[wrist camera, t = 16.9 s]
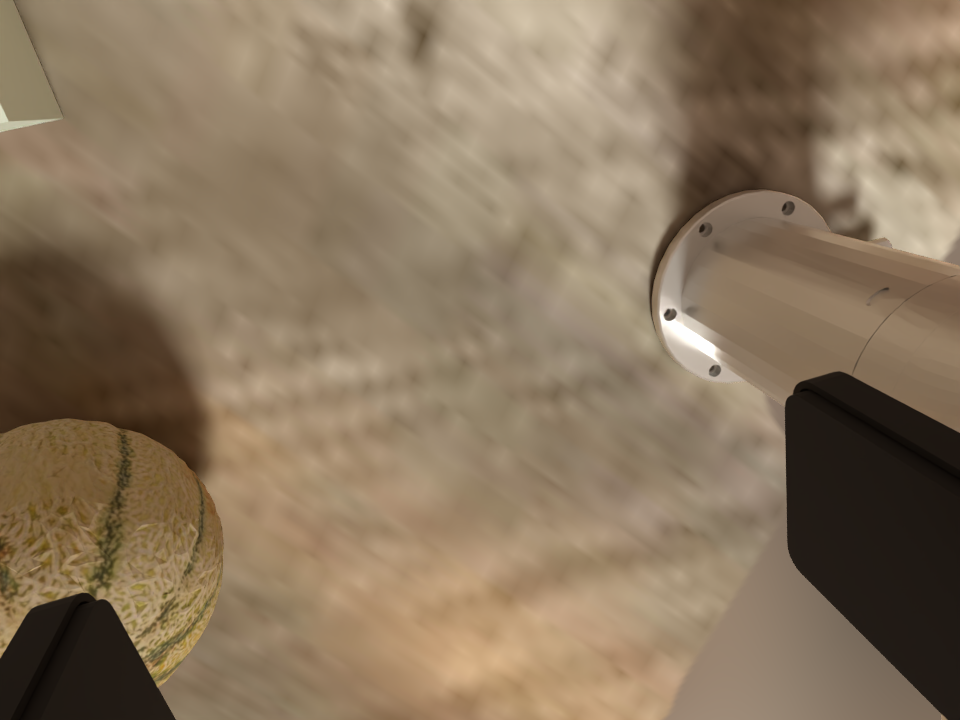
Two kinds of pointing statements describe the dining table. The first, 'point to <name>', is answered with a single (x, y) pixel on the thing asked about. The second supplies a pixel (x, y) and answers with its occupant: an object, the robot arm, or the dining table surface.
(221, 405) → the dining table surface
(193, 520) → the cantaloupe
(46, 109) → the block
